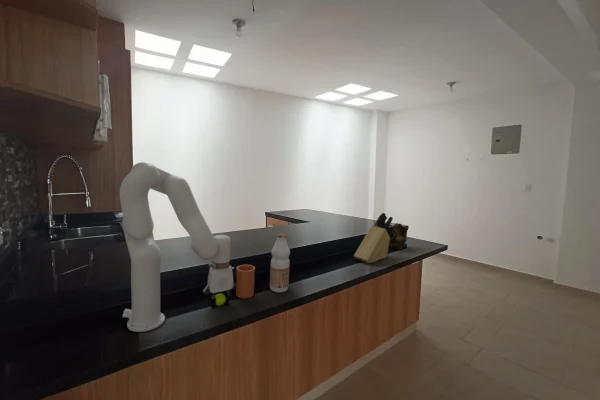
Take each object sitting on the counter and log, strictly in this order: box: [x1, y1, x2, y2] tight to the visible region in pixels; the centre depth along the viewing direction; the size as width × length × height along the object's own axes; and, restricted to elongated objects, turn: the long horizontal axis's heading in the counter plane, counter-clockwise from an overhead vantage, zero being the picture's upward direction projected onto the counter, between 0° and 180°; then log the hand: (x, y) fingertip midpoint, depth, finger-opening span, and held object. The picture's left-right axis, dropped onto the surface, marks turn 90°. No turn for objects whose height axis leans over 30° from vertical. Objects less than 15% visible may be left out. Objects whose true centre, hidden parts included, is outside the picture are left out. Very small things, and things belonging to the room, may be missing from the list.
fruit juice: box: [269, 232, 291, 293], centre depth 144 cm, size 9×9×28 cm
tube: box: [235, 264, 256, 299], centre depth 137 cm, size 8×8×13 cm
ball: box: [215, 293, 226, 307], centre depth 126 cm, size 5×5×5 cm
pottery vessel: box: [387, 222, 409, 250], centre depth 232 cm, size 25×11×20 cm, turn 132°
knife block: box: [353, 212, 396, 264], centre depth 202 cm, size 11×35×31 cm, turn 133°
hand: (219, 304), depth 127 cm, fingers closed on ball, 4 cm apart
